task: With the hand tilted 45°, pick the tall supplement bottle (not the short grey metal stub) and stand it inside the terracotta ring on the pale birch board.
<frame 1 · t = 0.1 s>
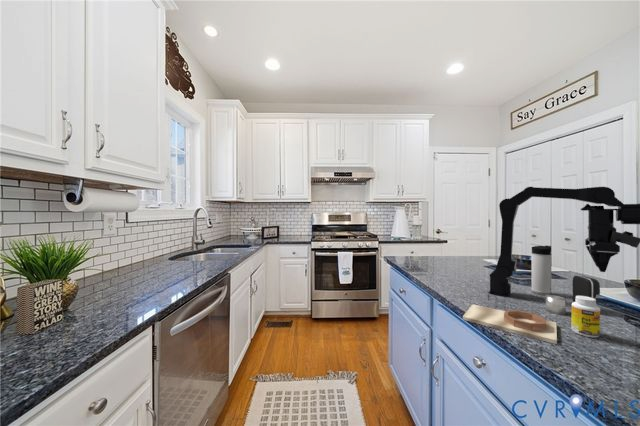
hand: (600, 269, 85), 15 cm above the countertop, tool pointing down, fingers open, 9 cm apart
travel mug: (541, 293, 104), on the countertop
supplement bottle: (585, 334, 70), on the countertop
holder board: (507, 322, 78), on the countertop
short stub: (555, 311, 86), on the countertop
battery: (586, 309, 87), on the countertop
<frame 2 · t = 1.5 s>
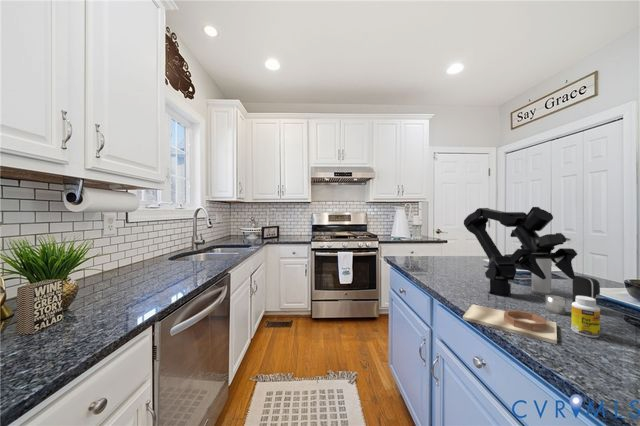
hand: (559, 278, 78), 13 cm above the countertop, tool tilted 45°, fingers open, 9 cm apart
nothing on the countertop moved.
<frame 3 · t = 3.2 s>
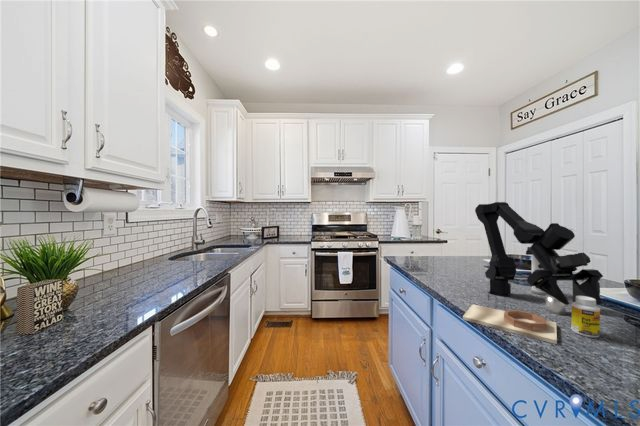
hand: (583, 304, 71), 8 cm above the countertop, tool tilted 45°, fingers open, 9 cm apart
nothing on the countertop moved.
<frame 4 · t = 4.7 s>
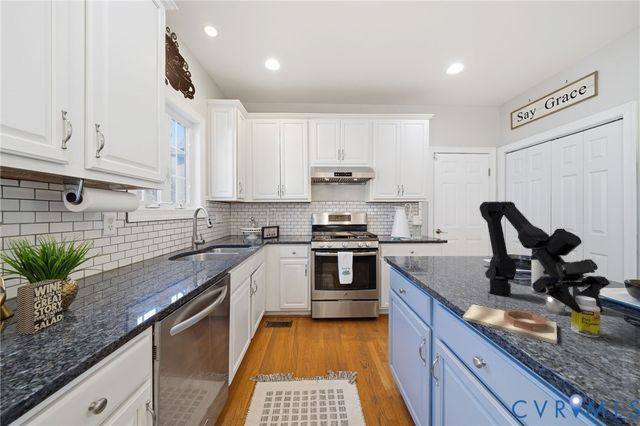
hand: (590, 312, 69), 7 cm above the countertop, tool tilted 45°, fingers closed on supplement bottle, 5 cm apart
supplement bottle: (585, 334, 70), on the countertop, touching gripper
everything else where it was.
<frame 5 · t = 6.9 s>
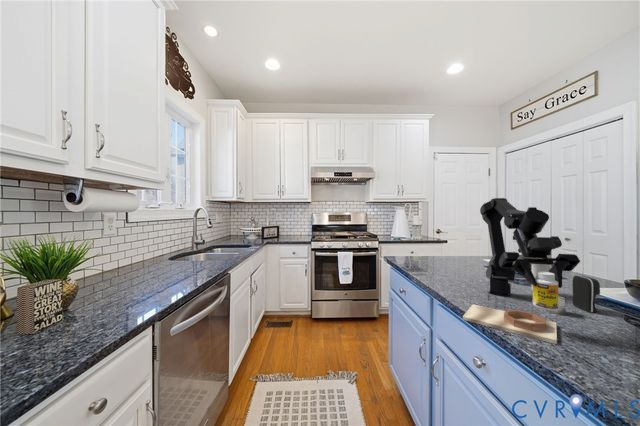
hand: (548, 286, 71), 13 cm above the countertop, tool tilted 45°, fingers closed on supplement bottle, 5 cm apart
supplement bottle: (545, 308, 73), point 6 cm above the countertop, touching gripper
everything else where it was.
when the fingers open (9 cm above the countertop, at t = 9.2 s): supplement bottle drops 1 cm, resting on holder board.
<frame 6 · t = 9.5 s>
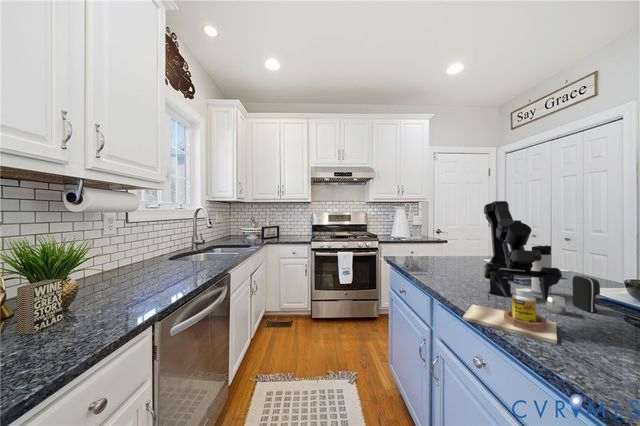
hand: (526, 298, 74), 9 cm above the countertop, tool tilted 45°, fingers open, 9 cm apart
supplement bottle: (524, 323, 75), point 1 cm above the countertop, touching holder board
everything else where it was.
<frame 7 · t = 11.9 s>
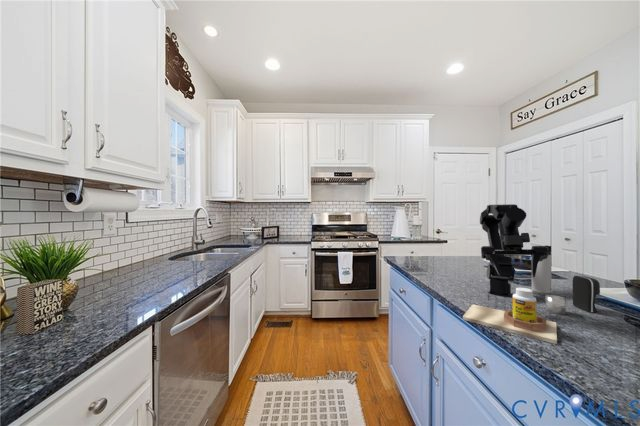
hand: (516, 276, 84), 13 cm above the countertop, tool tilted 30°, fingers open, 9 cm apart
nothing on the countertop moved.
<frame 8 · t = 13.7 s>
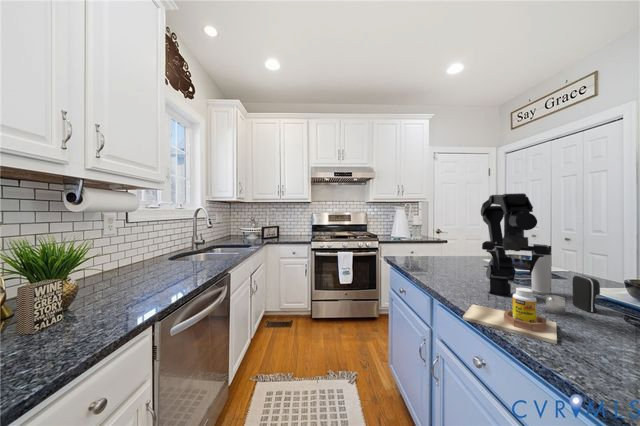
hand: (513, 271, 90), 13 cm above the countertop, tool pointing down, fingers open, 9 cm apart
nothing on the countertop moved.
at the end: supplement bottle 0.1 cm from the target spot on the holder board, point 0.8 cm above the holder board's base; supplement bottle tilted 0°; the gripper is holding nothing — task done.
